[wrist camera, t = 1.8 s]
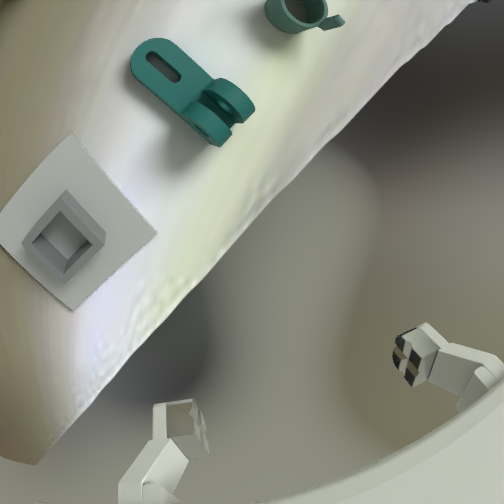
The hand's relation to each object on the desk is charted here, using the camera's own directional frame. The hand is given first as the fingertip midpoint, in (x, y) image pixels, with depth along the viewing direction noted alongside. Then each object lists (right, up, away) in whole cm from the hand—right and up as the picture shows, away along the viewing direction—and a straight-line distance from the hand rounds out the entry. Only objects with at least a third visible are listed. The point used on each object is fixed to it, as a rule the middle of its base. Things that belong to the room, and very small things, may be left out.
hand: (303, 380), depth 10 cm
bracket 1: (-12, +28, +26) cm, 40 cm away
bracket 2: (+4, +44, +25) cm, 50 cm away
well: (-29, +8, +27) cm, 41 cm away
